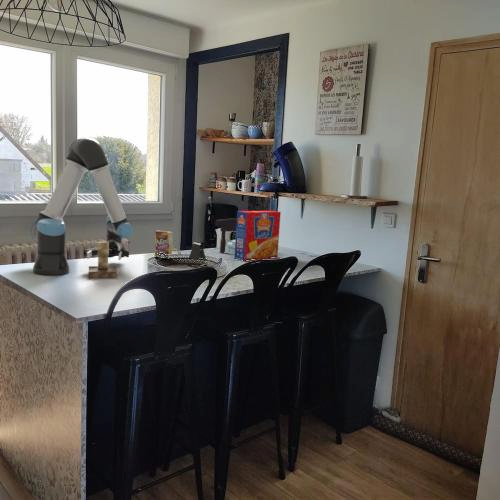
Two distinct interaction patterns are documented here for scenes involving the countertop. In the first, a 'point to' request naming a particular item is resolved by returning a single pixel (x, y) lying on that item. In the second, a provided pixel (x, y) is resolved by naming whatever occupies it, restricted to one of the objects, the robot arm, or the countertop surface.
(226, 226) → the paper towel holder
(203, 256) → the door stopper
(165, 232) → the candy box
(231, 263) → the countertop surface
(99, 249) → the leg
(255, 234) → the pasta box
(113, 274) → the board
